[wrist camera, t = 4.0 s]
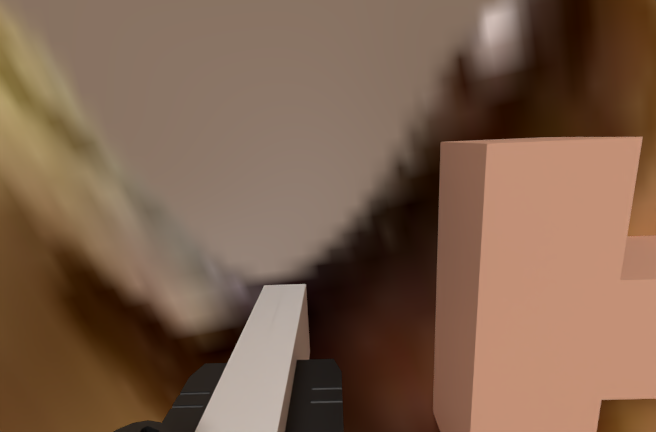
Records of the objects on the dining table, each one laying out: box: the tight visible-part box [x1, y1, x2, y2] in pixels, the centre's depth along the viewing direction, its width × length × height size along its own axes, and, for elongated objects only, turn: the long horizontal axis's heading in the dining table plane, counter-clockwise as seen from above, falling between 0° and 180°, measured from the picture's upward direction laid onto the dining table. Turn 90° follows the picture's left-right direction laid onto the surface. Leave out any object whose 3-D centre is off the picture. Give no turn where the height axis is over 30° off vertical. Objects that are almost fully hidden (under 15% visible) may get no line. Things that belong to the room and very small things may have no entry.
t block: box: [433, 137, 656, 432], centre depth 12 cm, size 12×12×4 cm
